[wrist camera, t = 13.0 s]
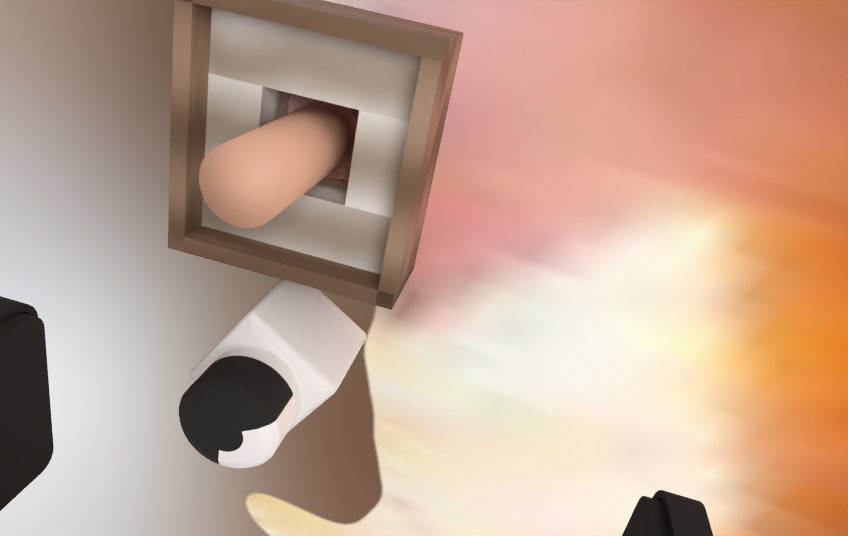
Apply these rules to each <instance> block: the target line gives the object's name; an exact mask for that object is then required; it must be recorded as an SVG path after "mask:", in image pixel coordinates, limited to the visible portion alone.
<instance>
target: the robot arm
mask: <svg viewBox="0 0 848 536" xmlns="http://www.w3.org/2000/svg"><path fill="white" fill-rule="evenodd" d="M50 410H51V409H50V398H49V384H48V370H47V356H46V343H45V330H44V324H43V321H42V320H41V319H40V318H38V315H37V311H36V310H35V309H34V307H32V306H30V305H28V304H24V303H21V302H18V301H14V300H10V299H7V298H4V297H1V296H0V510H2V509H3V508H4V507H5V506H6V505H7V504H8V503H9V502H10V501H11V500H12V499H14V498H15V497H16V496H17V495H18V494H19V493H20V492H21V491H22V490H23V489H24V488H25V487H26V486H28V484H30V483H31V482H32V481H33V480H34V479H35V478H36V477H37V476H38V475H39V474H41V473H42V471H43V470H44V469H45V468H46V466H47V465H48V464H49V462H50V459H51V457H52V453H53V436H52V423H51V411H50ZM622 536H713V534H712V530H711V527H710V523H709V520H708V516H707V513H706V510H705V507H704V505H703V504H702V503H701V502H700V501H697V500H693V499H690V498H687V497H683V496H680V495H676V494H673V493H669V492H666V491H663V490H659V491H657V492H656V493H655V495H654V496H653V498H649V497H646V496H642V497H641V498H640V500H639V501H638V503H637V505H636V507H635V509H634V512H633V514H632V516H631V518H630V520H629V522H628V524H627V526H626V529H625V531H624V533H623V535H622Z"/></svg>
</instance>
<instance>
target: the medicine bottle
mask: <svg viewBox="0 0 848 536" xmlns="http://www.w3.org/2000/svg"><path fill="white" fill-rule="evenodd" d="M365 339H366V334H365V332H363V330H361V329H360V328H359V327H358V326H357V325H356V324H355V323H354V322H353V321H352V320H351V319H350V318H349V317H348V316H347V315H346V314H344V313H343V312H342V311H341V310H340V309H339V308H338V307H337V306H336V305H335V304H334V303H333V302H332V301H331V300H330V299H328V298H327V297H326V296H325V295H324V294H323V293H322V292H321V291H320V290H319V289H316V288H312V287H308V286H305V285H301V284H298V283H294V282H290V281H287V280H283V279H281V280H280V281H279V282H278V283H277V284H276V285H275V286H274V287H273V288H272V289H271V290H270V291H269V292H268V293H267V294H266V295H265V296H264V297H263V298H262V299H261V300H260V301H259V302H258V303H257V305H255V306H254V307H253V308H252V309H251V310H250V311H249V312H248V314H246V316H245V317H244V318H243V319H242V320H241V321H240V322H239V323H238V324H237V325H236V326H235V327H234V328H233V329H232V330H231V331H230V332H229V333H228V334H227V335H226V336H225V337H224V338H223V339H222V340H221V341H220V342H219V343H218V344H217V346H215V347H214V348H213V349H212V350H211V351H210V352H209V353H208V354H207V355H206V356H205V358H204V359H203V360H202V361H201V362H200V363H199V364H198V365H197V366H196V367H195V368H194V369H193V370H192V371H191V374H190V375H191V377H192V378H193V379H194V380H195V382H194V383H193V384H192V385H191V386H190V388H188V390H187V391H186V392H185V393H184V395H183V396H182V399H181V401H180V405H179V417H180V422H181V426H182V429H183V432H184V434H185V436H186V437H187V439H188V441H189V442H190V443H191V445H192V446H193V447H194V448H195V449H196V450H197V451H198V452H199V453H201V454H202V455H203V456H205V457H206V458H207V459H210V460H211V461H213V462H215V463H218V464H220V465H223V466H226V467H231V468H249V467H254V466H258V465H260V464H262V463H264V462H266V461H267V460H268V459H270V458H271V456H272V455H273V454H274V452H275V451H276V449H277V448H278V446H279V444H280V442H281V441H282V440H283V438H284V436H285V435H286V433H287V432H289V431H290V430H291V429H292V428H293V427H294V426H296V425H297V424H298V423H299V422H300V421H302V420H303V419H304V418H305V417H306V416H307V415H309V414H310V413H311V412H312V411H313V410H314V409H316V408H317V407H318V406H319V405H321V404H322V403H323V402H324V401H325V400H327V398H329V397H330V396H331V395H332V394H334V393H335V392H336V391H337V389H338V387H339V385H340V383H341V382H342V380H343V378H344V376H345V375H346V373H347V371H348V369H349V368H350V366H351V364H352V362H353V360H354V358H355V357H356V355H357V353H358V351H359V350H360V348H361V346H362V344H363V343H364V341H365Z"/></svg>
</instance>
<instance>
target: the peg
mask: <svg viewBox="0 0 848 536" xmlns="http://www.w3.org/2000/svg"><path fill="white" fill-rule="evenodd" d="M356 129H357V123H356V121H355V119H354V117H353V116H352V114H351V113H350V112H349V111H348V110H347V109H346V108H345V107H343V106H340V105H336V104H332V103H328V102H324V101H318V102H315V103H312V104H310V105H308V106H306V107H303V108H301V109H299V110H297V111H294V112H292V113H290V114H288V115H286V116H283V117H281V118H279V119H277V120H274V121H272V122H270V123H268V124H265V125H263V126H261V127H259V128H256V129H254V130H252V131H250V132H248V133H245V134H243V135H241V136H239V137H236V138H234V139H232V140H230V141H227V142H225V143H223V144H221V145H219V146H216V147H215V148H213V149H212V150H211V151H210V152H208V154H207V155H206V156H205V158H204V159H203V161H202V164H201V166H200V170H199V185H200V189H201V193H202V195H203V198H204V200H205V202H206V203H207V205H208V206H209V208H210V209H211V210H212V211H213V213H214V214H215V215H217V216H218V217H219V218H220V219H221V220H223V221H225V222H226V223H228V224H230V225H233V226H236V227H240V228H255V227H259V226H262V225H264V224H266V223H267V222H269V221H270V220H271V219H272V218H274V217H275V216H276V215H278V214H279V213H280V212H281V211H283V210H284V209H285V208H286V207H288V206H289V205H290V204H292V203H293V202H294V201H295V200H297V199H298V198H299V197H300V196H302V195H303V194H304V193H306V192H307V191H308V190H309V189H311V188H312V187H313V186H314V185H316V184H317V183H318V182H320V181H321V180H322V179H323V178H325V177H326V176H327V175H329V174H330V173H331V172H332V171H334V170H335V169H336V168H337V167H339V166H340V165H341V164H343V163H344V162H345V161H346V160H348V159H349V158H350V157H351V156H352V155H353V148H354V142H355V135H356Z"/></svg>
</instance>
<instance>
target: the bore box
mask: <svg viewBox="0 0 848 536" xmlns="http://www.w3.org/2000/svg"><path fill="white" fill-rule="evenodd" d="M462 38H463V33H462V32H457V31H453V30H449V29H444V28H440V27H436V26H431V25H427V24H423V23H418V22H414V21H410V20H405V19H401V18H397V17H392V16H388V15H384V14H379V13H375V12H371V11H366V10H362V9H358V8H353V7H349V6H345V5H340V4H336V3H331V2H327V1H323V0H174V15H173V59H172V102H171V145H170V188H169V190H170V192H169V232H168V248H171V249H175V250H178V251H182V252H186V253H189V254H193V255H197V256H200V257H204V258H207V259H211V260H215V261H218V262H222V263H225V264H229V265H233V266H236V267H240V268H243V269H247V270H251V271H254V272H258V273H262V274H265V275H269V276H272V277H276V278H280V279H283V280H287V281H290V282H294V283H298V284H301V285H305V286H308V287H312V288H316V289H320V290H323V291H326V292H331V293H334V294H338V295H341V296H345V297H348V298H352V299H355V300H359V301H363V302H366V303H370V304H373V305H377V306H381V307H384V308H388V309H391V310H392V308H393V306H394V304H395V302H396V300H397V299H398V297H399V295H400V293H401V291H402V289H403V287H404V285H405V284H406V282H407V280H408V278H409V276H410V274H411V272H412V270H413V269H414V264H415V259H416V254H417V250H418V245H419V240H420V236H421V231H422V226H423V221H424V217H425V212H426V207H427V203H428V198H429V193H430V189H431V184H432V179H433V174H434V170H435V165H436V160H437V156H438V151H439V146H440V142H441V137H442V132H443V127H444V123H445V118H446V113H447V109H448V104H449V99H450V94H451V90H452V85H453V80H454V76H455V71H456V66H457V62H458V57H459V52H460V47H461V43H462ZM289 93H291V94H296V95H300V96H304V97H308V98H312V99H316V100H320V101H324V102H328V103H332V104H336V105H340V106H344V107H348V108H352V109H356V110H359V115H358V122H357V129H356V135H355V142H354V148H353V155H352V161H351V168H350V175H349V181H348V182H344V181H341V180H337V179H333V178H329V177H325V178H323V179H322V180H321V181H320V182H318V183H317V184H316V185H314V186H313V187H312V188H311V189H309V190H308V191H307V192H306V193H304V194H303V195H302V196H300V197H299V198H298V199H297V200H295V201H294V202H293V203H292V204H290V205H289V206H288V207H286V208H285V209H284V210H283V211H281V212H280V213H279V214H278V215H276V216H275V217H274V218H272V219H271V220H270V221H269V222H267V223H266V224H264V225H262V226H259V227H255V228H240V227H236V226H233V225H230V224H228V223H226V222H225V221H223V220H221V219H220V218H219V217H218V216H217V215H215V214H214V213H213V211H212V210H211V209H210V208H209V206H208V205H207V203H206V202H205V200H204V198H203V195H202V193H201V189H200V185H199V170H200V166H201V164H202V161H203V159H204V158H205V156H206V155H207V154H208V152H210V151H211V150H212V149H213V148H215V147H216V146H219V145H221V144H223V143H225V142H227V141H230V140H232V139H234V138H236V137H239V136H241V135H243V134H245V133H248V132H250V131H252V130H254V129H256V128H259V127H261V126H263V125H265V124H268V123H270V122H272V121H274V120H277V119H279V118H281V117H283V116H286V115H287V108H288V98H289Z"/></svg>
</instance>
